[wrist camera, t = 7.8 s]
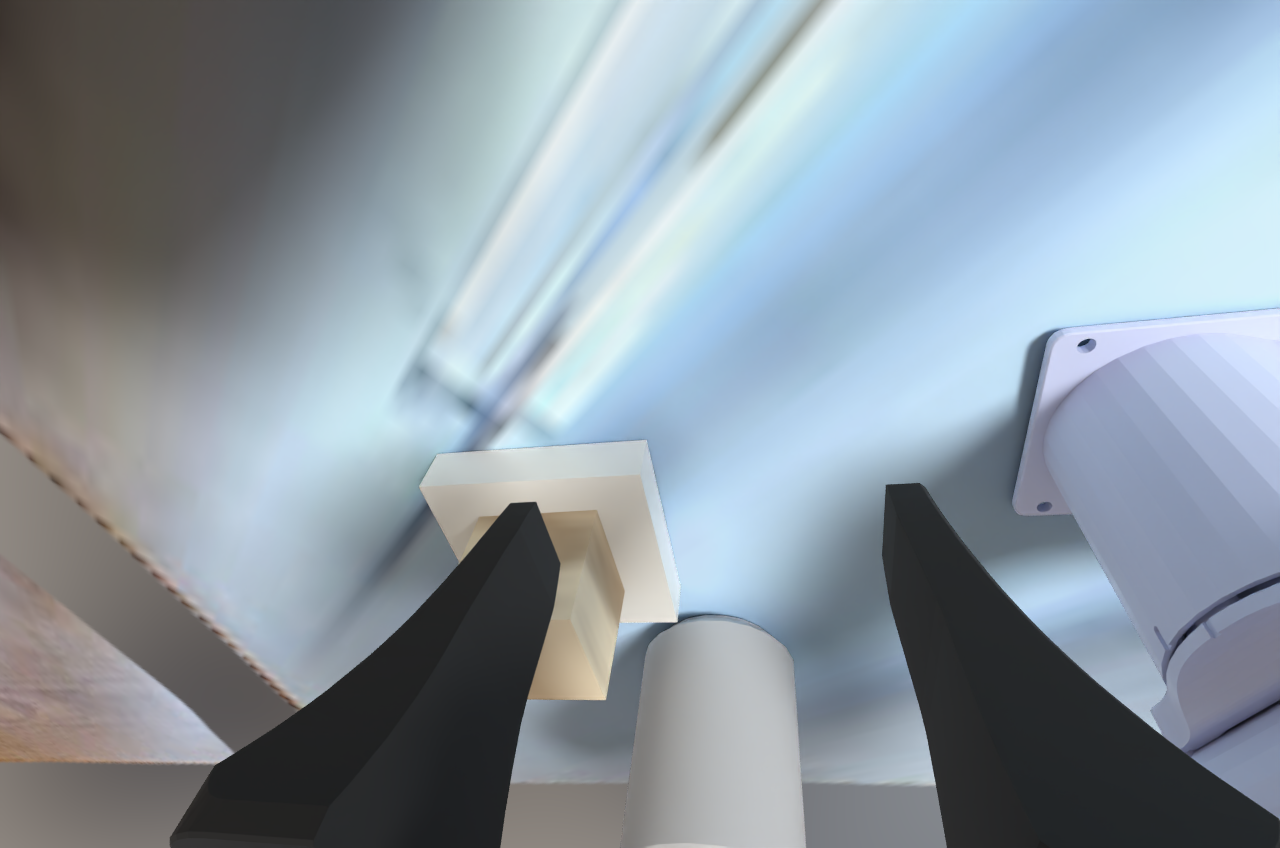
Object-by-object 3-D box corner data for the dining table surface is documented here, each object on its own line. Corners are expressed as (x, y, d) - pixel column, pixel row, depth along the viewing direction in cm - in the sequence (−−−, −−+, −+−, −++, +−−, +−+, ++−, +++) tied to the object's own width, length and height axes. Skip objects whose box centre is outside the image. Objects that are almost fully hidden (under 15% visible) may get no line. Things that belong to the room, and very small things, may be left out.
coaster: (646, 439, 25) (640, 474, 24) (680, 586, 31) (677, 622, 29) (437, 453, 27) (418, 486, 26) (504, 589, 32) (491, 623, 31)
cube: (596, 509, 25) (570, 619, 21) (625, 591, 28) (606, 700, 24) (479, 516, 26) (433, 622, 22) (518, 593, 29) (483, 698, 25)
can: (697, 699, 37) (681, 967, 27) (618, 628, 33) (570, 906, 24) (819, 669, 33) (848, 963, 24) (745, 587, 30) (746, 891, 21)
